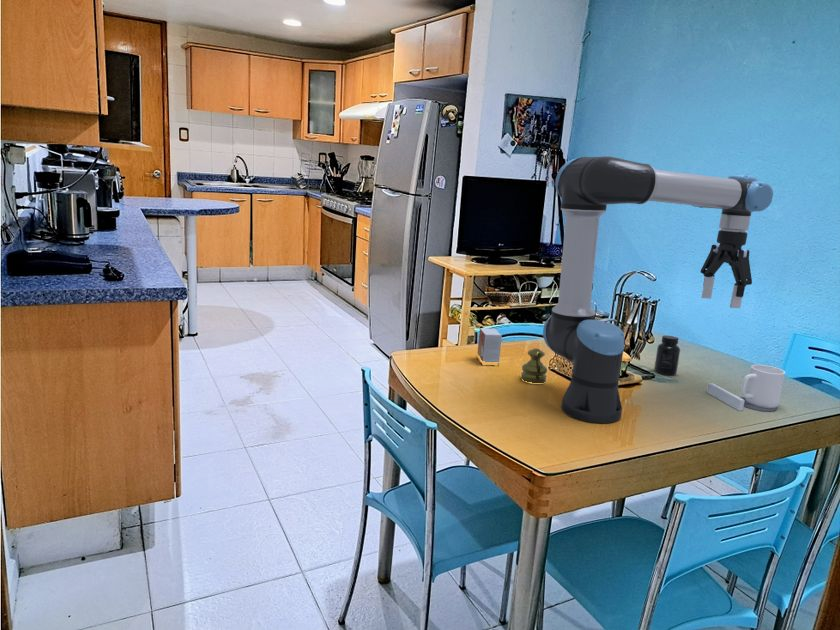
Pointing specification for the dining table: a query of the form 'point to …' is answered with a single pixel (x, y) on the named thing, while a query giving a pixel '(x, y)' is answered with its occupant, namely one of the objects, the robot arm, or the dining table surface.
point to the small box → (489, 345)
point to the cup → (763, 386)
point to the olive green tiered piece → (534, 368)
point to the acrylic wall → (725, 396)
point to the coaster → (757, 407)
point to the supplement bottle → (667, 356)
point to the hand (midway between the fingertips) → (719, 302)
